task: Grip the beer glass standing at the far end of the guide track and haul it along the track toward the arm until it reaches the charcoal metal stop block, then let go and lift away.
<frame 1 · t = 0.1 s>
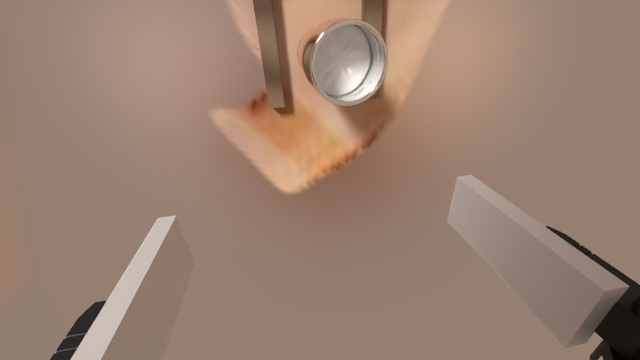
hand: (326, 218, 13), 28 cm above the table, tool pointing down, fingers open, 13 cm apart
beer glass: (320, 53, 35), on the table
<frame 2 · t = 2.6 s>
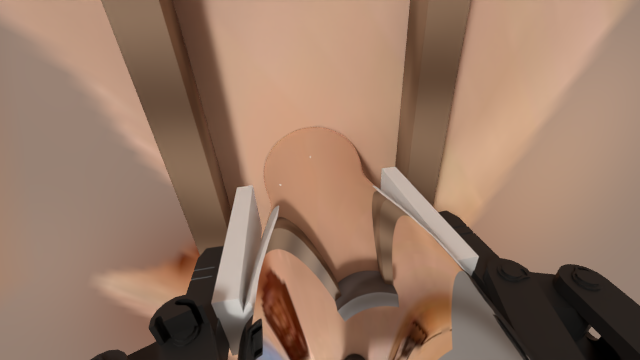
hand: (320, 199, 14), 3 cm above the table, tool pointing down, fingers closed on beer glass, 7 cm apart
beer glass: (312, 171, 17), on the table, touching gripper
guide track: (302, 50, 13), on the table
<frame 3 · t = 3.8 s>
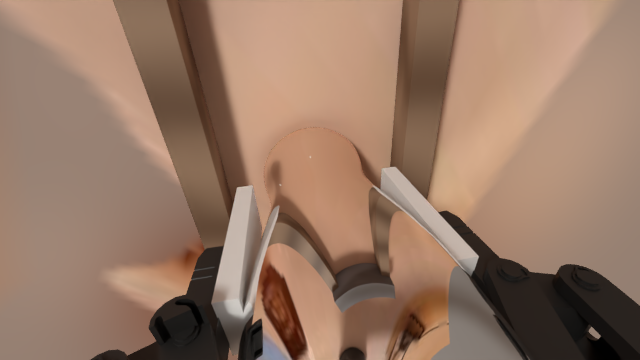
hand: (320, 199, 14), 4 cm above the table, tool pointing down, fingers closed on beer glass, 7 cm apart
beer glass: (312, 171, 17), point 1 cm above the table, touching gripper
guide track: (301, 57, 14), on the table
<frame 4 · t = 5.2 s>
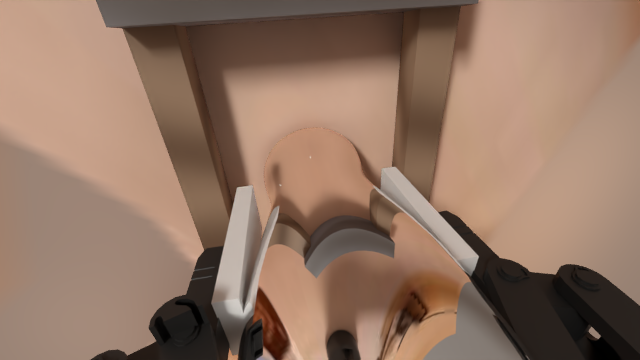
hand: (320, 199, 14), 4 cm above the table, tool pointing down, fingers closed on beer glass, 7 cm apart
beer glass: (312, 171, 17), on the table, touching gripper
guide track: (314, 195, 18), on the table
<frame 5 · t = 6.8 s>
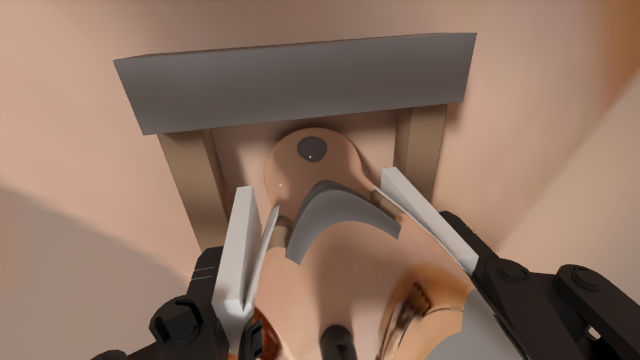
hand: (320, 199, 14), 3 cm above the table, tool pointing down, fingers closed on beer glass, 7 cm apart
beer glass: (312, 171, 17), on the table, touching gripper
guide track: (318, 242, 20), on the table
when the fingers open (3 cm above the table, at t = 7.5 s): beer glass stays where it is, on the table.
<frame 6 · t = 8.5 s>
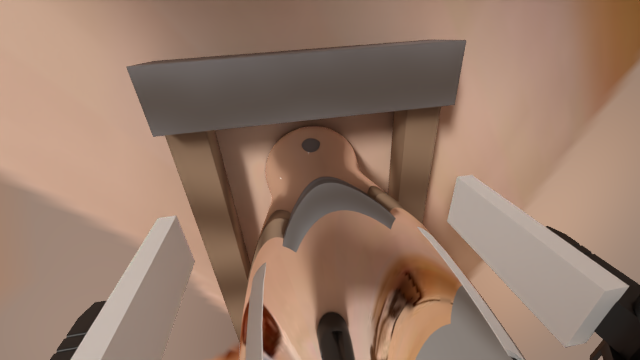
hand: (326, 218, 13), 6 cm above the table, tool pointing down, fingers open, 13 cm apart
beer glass: (311, 168, 18), on the table
guide track: (318, 241, 21), on the table
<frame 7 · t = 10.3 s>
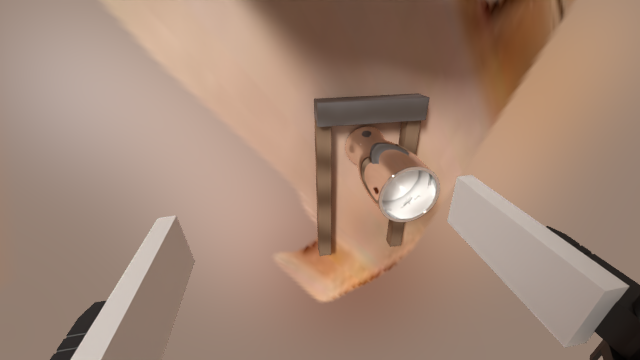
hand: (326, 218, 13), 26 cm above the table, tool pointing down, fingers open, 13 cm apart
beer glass: (363, 145, 40), on the table
guide track: (362, 182, 43), on the table
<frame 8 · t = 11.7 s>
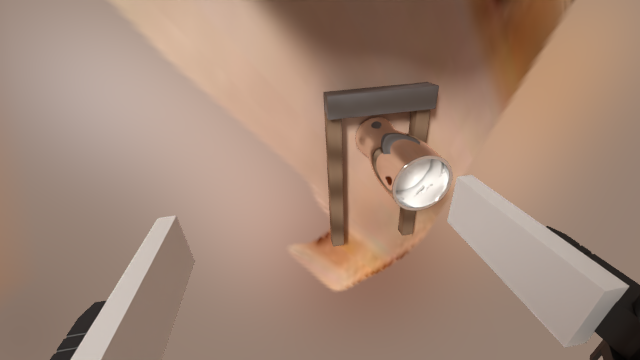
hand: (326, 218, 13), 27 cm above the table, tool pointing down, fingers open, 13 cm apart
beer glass: (373, 135, 41), on the table
guide track: (372, 172, 43), on the table
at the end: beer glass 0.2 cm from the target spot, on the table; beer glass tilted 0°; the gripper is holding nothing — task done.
